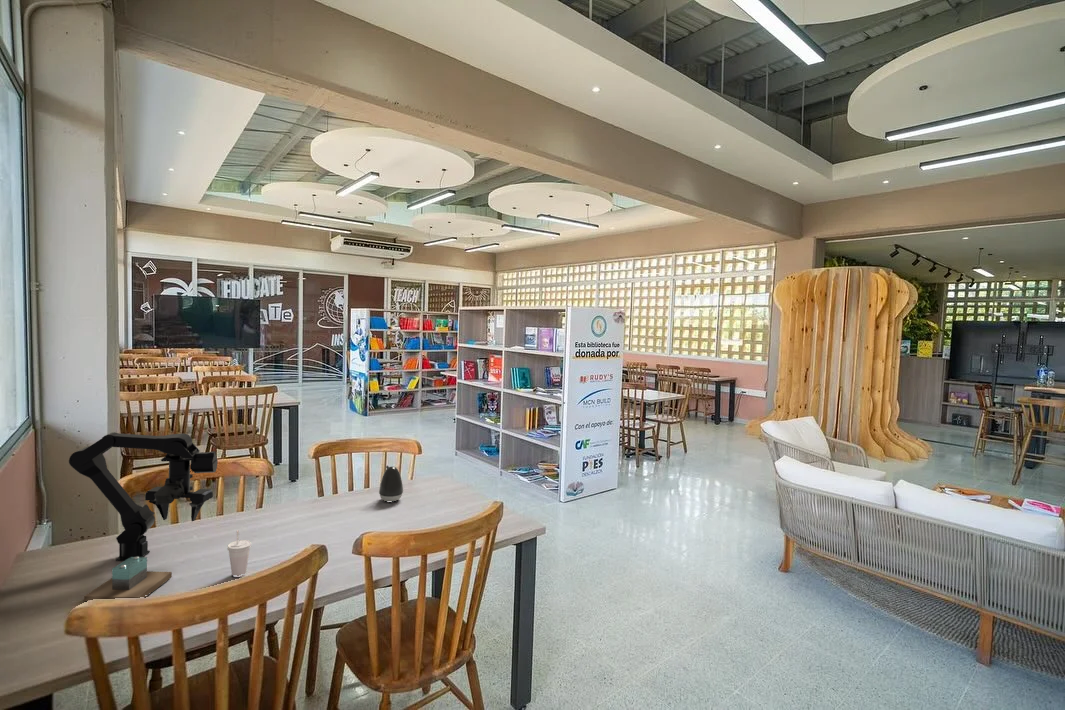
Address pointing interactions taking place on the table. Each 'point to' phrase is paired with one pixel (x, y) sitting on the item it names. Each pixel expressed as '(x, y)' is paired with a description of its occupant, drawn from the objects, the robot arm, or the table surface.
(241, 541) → the smoothie
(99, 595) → the stand
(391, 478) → the black egg-shaped speaker
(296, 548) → the table surface
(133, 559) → the housing
